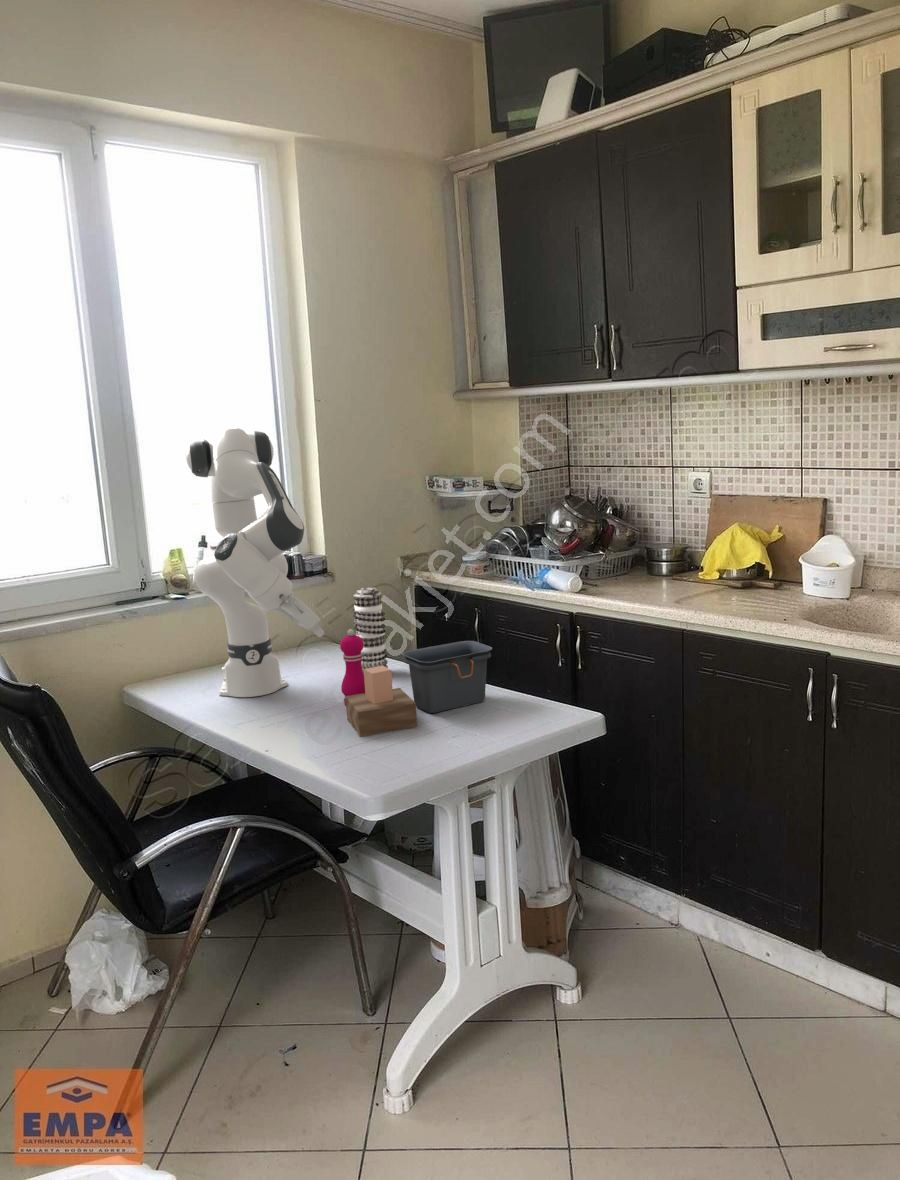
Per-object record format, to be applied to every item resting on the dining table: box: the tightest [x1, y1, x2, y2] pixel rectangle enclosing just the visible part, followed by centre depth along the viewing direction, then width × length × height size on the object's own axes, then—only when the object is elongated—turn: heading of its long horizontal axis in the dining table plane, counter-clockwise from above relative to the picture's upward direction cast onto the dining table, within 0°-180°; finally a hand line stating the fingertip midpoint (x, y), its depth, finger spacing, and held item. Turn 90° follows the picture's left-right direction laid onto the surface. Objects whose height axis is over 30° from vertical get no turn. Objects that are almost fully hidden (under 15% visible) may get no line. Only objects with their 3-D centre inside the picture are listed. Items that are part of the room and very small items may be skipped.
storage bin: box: [402, 640, 493, 714], centre depth 240 cm, size 21×16×14 cm
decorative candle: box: [352, 586, 389, 672], centre depth 272 cm, size 9×9×25 cm
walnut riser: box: [344, 687, 418, 738], centre depth 230 cm, size 14×14×6 cm
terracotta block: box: [364, 666, 394, 704], centre depth 229 cm, size 5×5×8 cm
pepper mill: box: [339, 628, 365, 707], centre depth 245 cm, size 7×7×20 cm
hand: (313, 630), depth 222 cm, fingers open, 8 cm apart
